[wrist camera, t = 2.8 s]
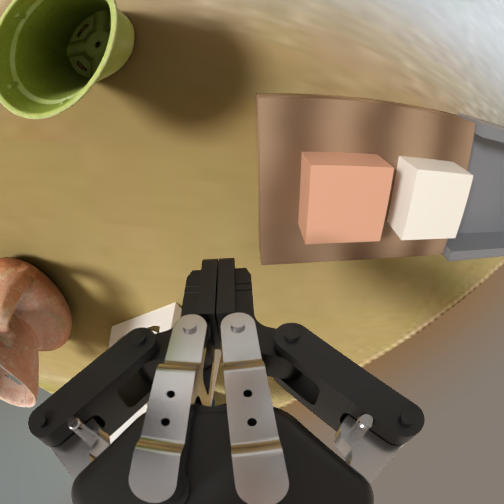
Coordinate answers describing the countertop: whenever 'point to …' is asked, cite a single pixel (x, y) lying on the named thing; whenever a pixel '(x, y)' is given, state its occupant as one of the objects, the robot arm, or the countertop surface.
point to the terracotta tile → (343, 197)
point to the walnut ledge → (346, 141)
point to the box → (482, 198)
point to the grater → (158, 317)
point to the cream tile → (428, 198)
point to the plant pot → (58, 52)
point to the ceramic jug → (28, 327)
